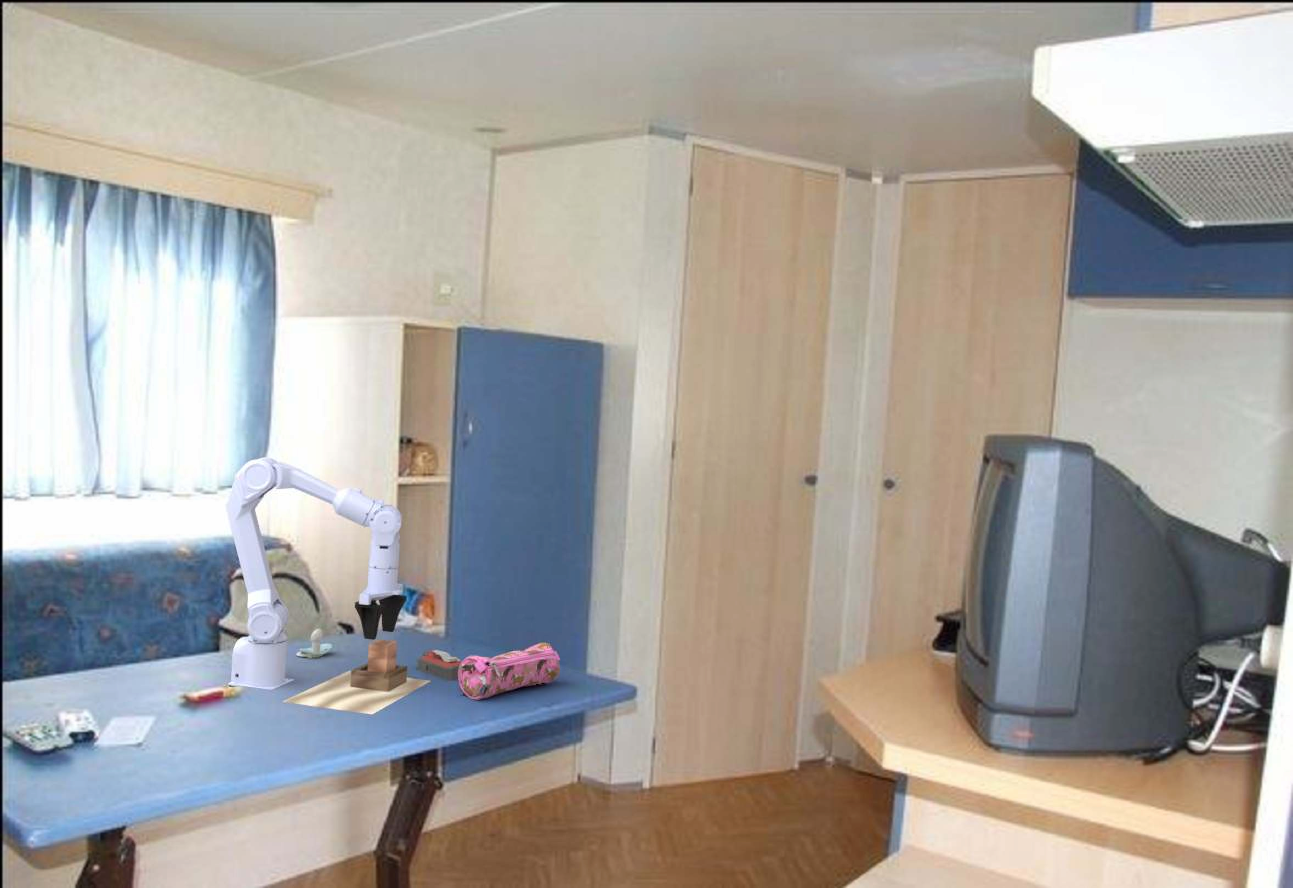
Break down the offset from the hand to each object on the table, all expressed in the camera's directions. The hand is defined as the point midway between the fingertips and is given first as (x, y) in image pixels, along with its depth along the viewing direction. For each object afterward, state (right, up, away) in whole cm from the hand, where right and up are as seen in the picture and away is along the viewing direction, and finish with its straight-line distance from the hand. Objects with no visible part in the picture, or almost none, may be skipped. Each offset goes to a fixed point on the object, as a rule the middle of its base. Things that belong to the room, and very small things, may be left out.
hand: (379, 634), depth 202 cm
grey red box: (+8, -11, +17) cm, 22 cm away
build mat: (-2, -10, -5) cm, 12 cm away
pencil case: (+25, -12, +4) cm, 28 cm away
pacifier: (-20, -9, +21) cm, 31 cm away
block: (+1, -7, 0) cm, 7 cm away
